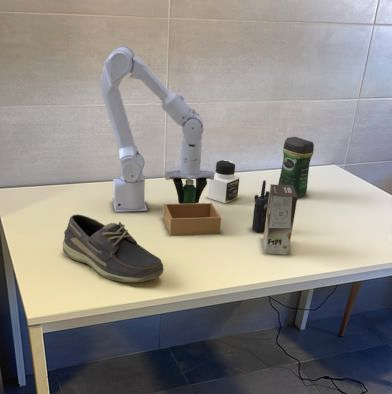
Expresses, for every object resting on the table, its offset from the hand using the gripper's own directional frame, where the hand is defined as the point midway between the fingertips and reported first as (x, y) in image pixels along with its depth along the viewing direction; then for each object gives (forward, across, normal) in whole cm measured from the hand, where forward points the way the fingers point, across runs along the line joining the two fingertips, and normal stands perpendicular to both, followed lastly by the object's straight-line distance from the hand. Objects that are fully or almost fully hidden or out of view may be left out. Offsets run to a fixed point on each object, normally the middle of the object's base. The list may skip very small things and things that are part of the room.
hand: (188, 202), depth 164 cm
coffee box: (+3, +18, -28) cm, 33 cm away
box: (+3, -2, -12) cm, 12 cm away
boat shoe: (+3, -26, -34) cm, 44 cm away
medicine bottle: (+3, +14, +10) cm, 17 cm away
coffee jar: (+3, +38, +12) cm, 41 cm away
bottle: (+3, 0, 0) cm, 3 cm away
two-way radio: (+3, +18, -16) cm, 24 cm away
